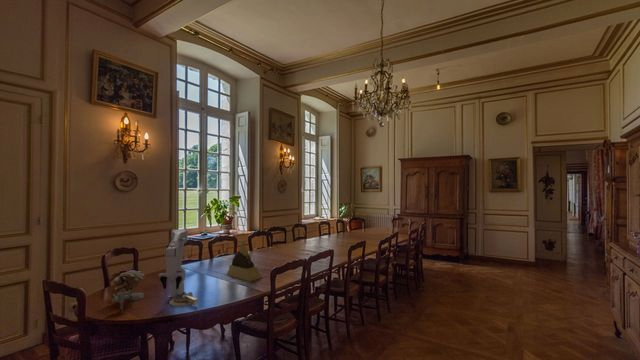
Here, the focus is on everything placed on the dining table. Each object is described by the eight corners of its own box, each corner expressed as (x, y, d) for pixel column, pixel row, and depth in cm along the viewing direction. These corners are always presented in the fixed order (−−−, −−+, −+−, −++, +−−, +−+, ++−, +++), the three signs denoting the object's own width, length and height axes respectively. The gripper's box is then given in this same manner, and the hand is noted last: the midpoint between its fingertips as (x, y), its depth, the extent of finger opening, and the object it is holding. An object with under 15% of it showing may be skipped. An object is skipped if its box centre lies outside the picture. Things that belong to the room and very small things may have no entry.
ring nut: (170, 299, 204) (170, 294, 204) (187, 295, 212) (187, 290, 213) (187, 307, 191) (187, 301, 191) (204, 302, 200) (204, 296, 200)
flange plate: (176, 297, 213) (176, 295, 213) (200, 297, 213) (200, 295, 213) (164, 306, 197) (164, 304, 197) (191, 306, 197) (191, 304, 197)
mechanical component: (110, 311, 189) (111, 294, 189) (130, 306, 196) (130, 290, 196) (112, 312, 187) (112, 295, 187) (132, 308, 194) (132, 291, 194)
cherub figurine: (121, 293, 220) (122, 267, 220) (149, 292, 222) (149, 266, 222) (107, 303, 202) (107, 274, 202) (137, 302, 204) (137, 273, 204)
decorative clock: (262, 277, 258) (262, 240, 259) (249, 281, 248) (249, 242, 248) (239, 271, 275) (239, 236, 276) (226, 275, 265) (227, 238, 266)
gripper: (156, 268, 197) (156, 290, 197) (180, 268, 197) (180, 290, 197) (161, 265, 204) (161, 287, 204) (185, 265, 204) (184, 287, 204)
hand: (171, 288), depth 201 cm, fingers open, 7 cm apart
